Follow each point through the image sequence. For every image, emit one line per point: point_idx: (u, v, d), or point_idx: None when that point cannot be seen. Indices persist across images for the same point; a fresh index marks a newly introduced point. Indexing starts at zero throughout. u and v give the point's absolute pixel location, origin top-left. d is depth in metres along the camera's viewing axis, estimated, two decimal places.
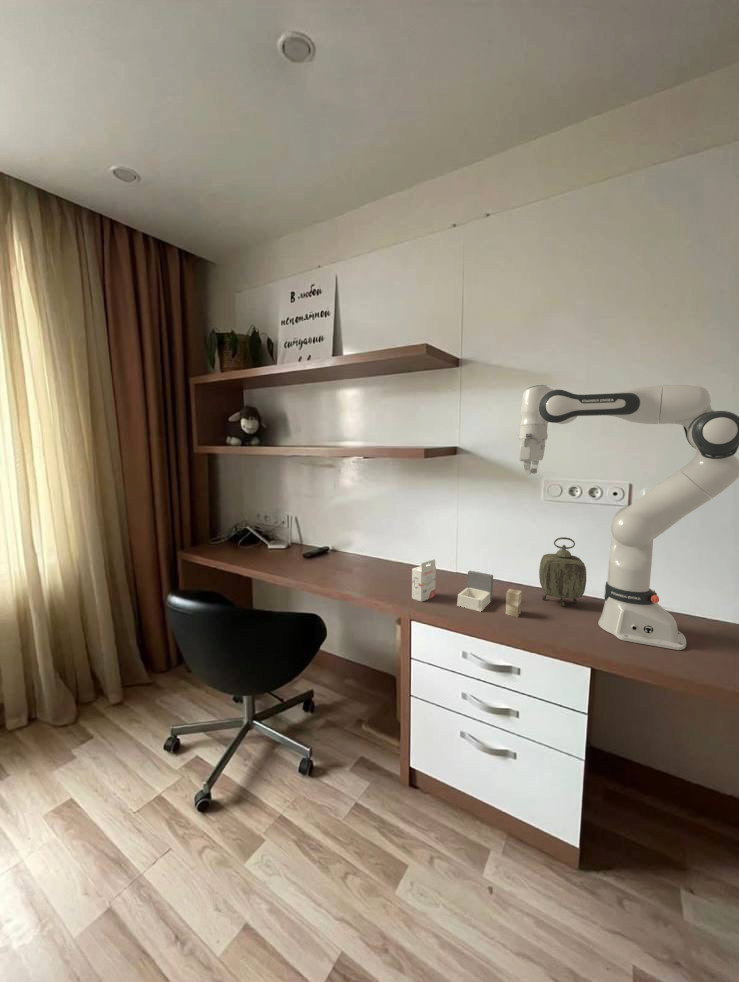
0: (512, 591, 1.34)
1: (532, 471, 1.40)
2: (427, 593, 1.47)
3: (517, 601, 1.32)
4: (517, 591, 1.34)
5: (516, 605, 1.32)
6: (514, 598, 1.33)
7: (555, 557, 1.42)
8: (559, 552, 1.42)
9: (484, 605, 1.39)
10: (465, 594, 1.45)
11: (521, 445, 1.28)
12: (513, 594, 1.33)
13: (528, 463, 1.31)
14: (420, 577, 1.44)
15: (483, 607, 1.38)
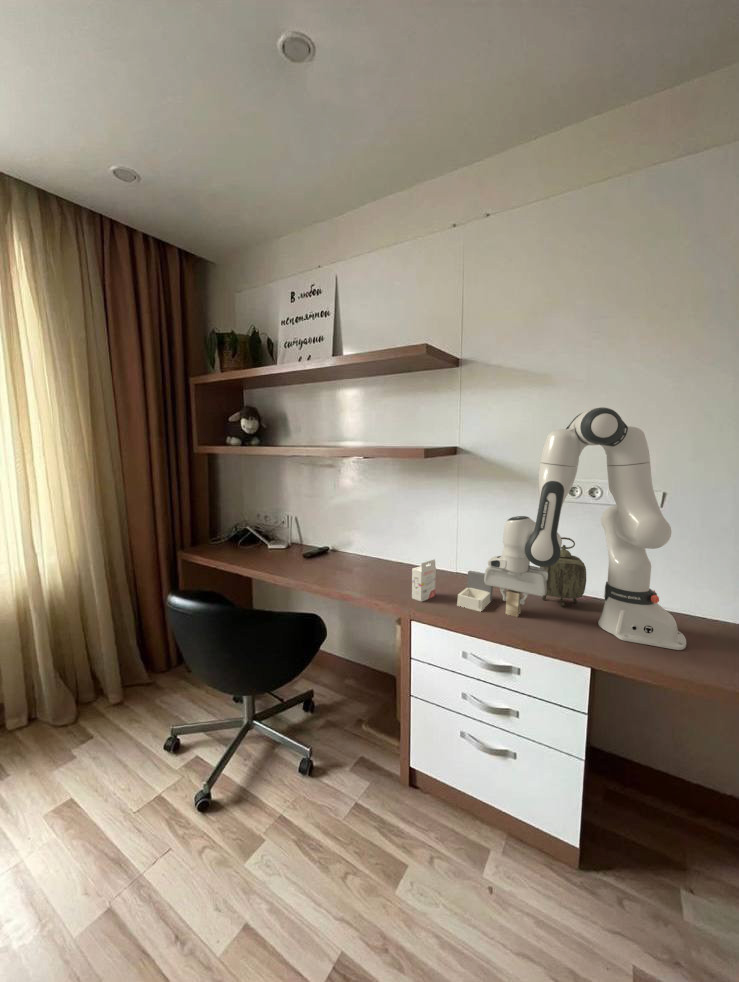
0: (512, 591, 1.34)
1: None
2: (428, 593, 1.47)
3: (517, 601, 1.32)
4: (517, 591, 1.34)
5: (516, 605, 1.32)
6: (514, 598, 1.33)
7: None
8: None
9: (484, 605, 1.39)
10: (465, 594, 1.45)
11: (544, 581, 1.27)
12: (513, 594, 1.33)
13: (528, 593, 1.32)
14: (420, 577, 1.44)
15: (483, 607, 1.38)
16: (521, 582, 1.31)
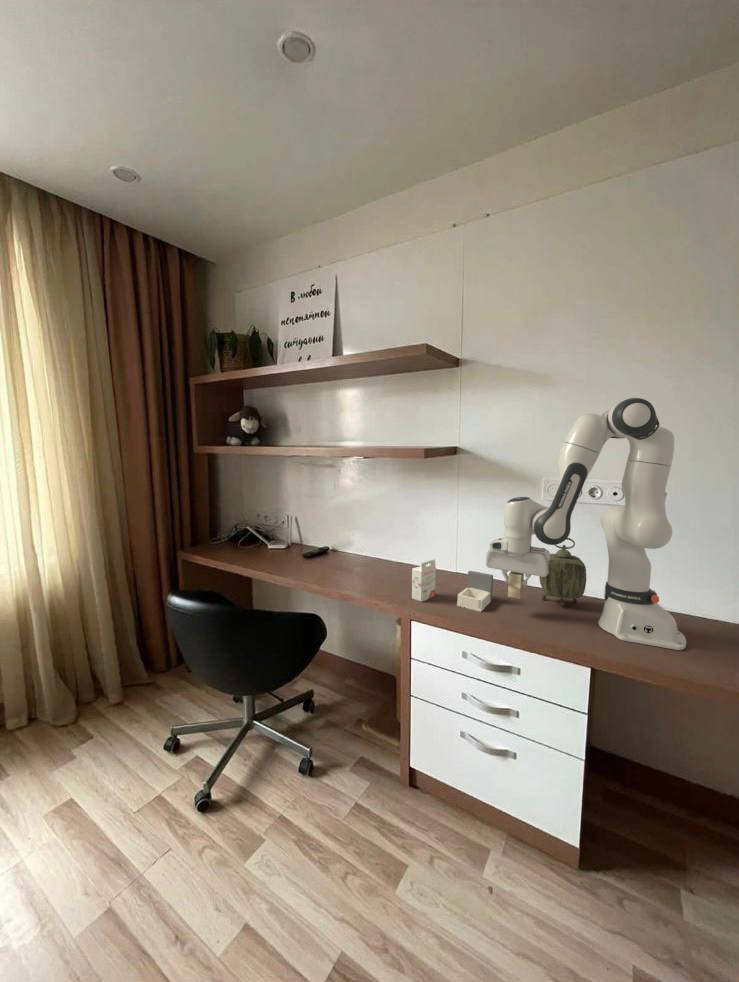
0: (514, 573, 1.34)
1: None
2: (428, 593, 1.47)
3: (519, 583, 1.31)
4: (519, 573, 1.34)
5: (518, 587, 1.31)
6: (516, 580, 1.32)
7: (555, 557, 1.42)
8: (559, 552, 1.42)
9: (484, 605, 1.39)
10: (465, 594, 1.45)
11: (546, 561, 1.26)
12: (515, 576, 1.32)
13: (530, 575, 1.31)
14: (420, 577, 1.44)
15: (483, 607, 1.38)
16: (523, 563, 1.30)
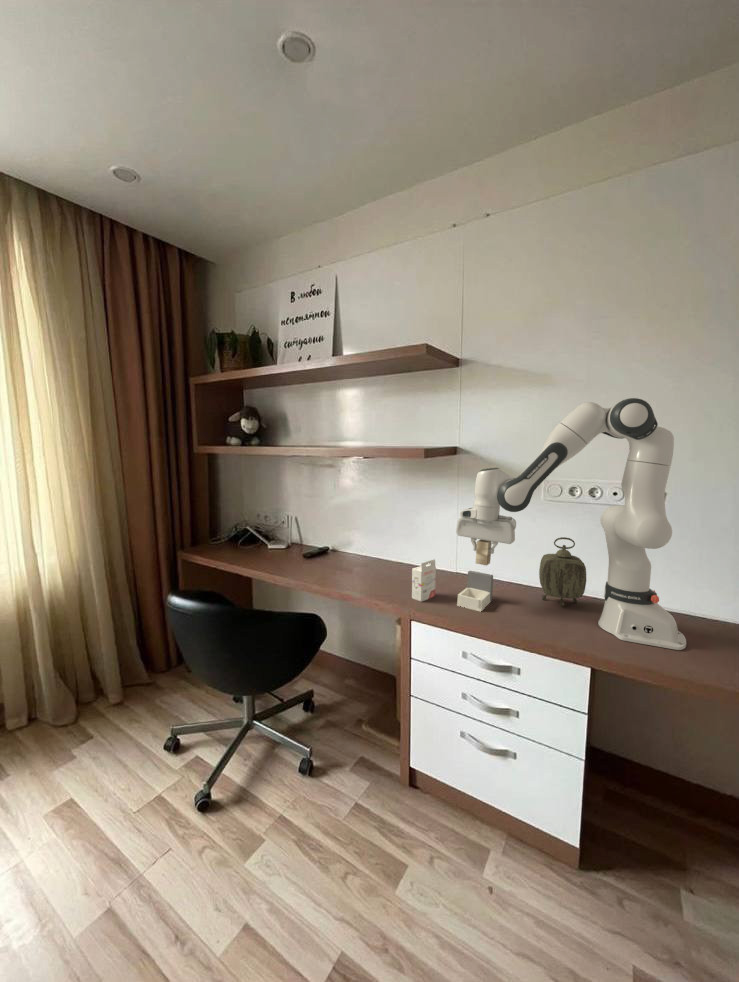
0: (482, 541, 1.39)
1: None
2: (428, 593, 1.47)
3: (486, 550, 1.37)
4: (487, 541, 1.39)
5: (485, 554, 1.37)
6: (483, 547, 1.37)
7: (555, 557, 1.42)
8: (559, 552, 1.42)
9: (484, 605, 1.39)
10: (465, 594, 1.45)
11: (512, 529, 1.32)
12: (483, 543, 1.37)
13: (497, 543, 1.37)
14: (420, 577, 1.44)
15: (483, 607, 1.38)
16: (491, 531, 1.35)
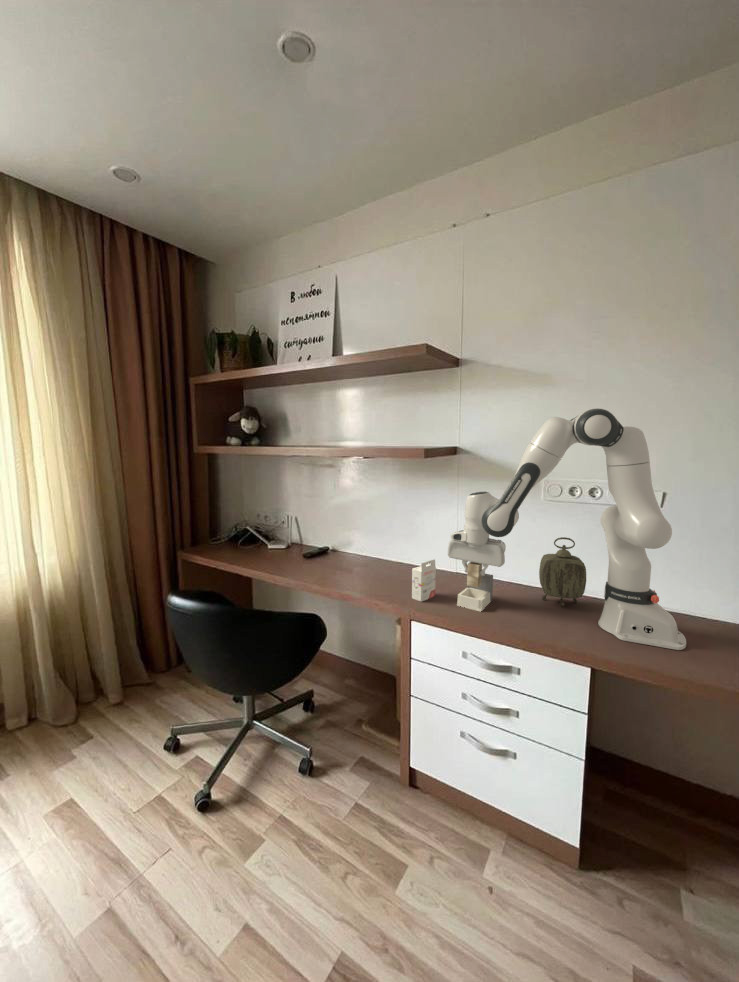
0: (473, 563, 1.41)
1: None
2: (428, 593, 1.47)
3: (477, 572, 1.39)
4: (478, 563, 1.42)
5: (476, 576, 1.39)
6: (474, 570, 1.40)
7: (555, 557, 1.42)
8: (559, 552, 1.42)
9: (484, 605, 1.39)
10: (465, 594, 1.45)
11: (501, 552, 1.34)
12: (474, 565, 1.40)
13: None
14: (420, 577, 1.44)
15: (483, 607, 1.38)
16: (481, 554, 1.38)
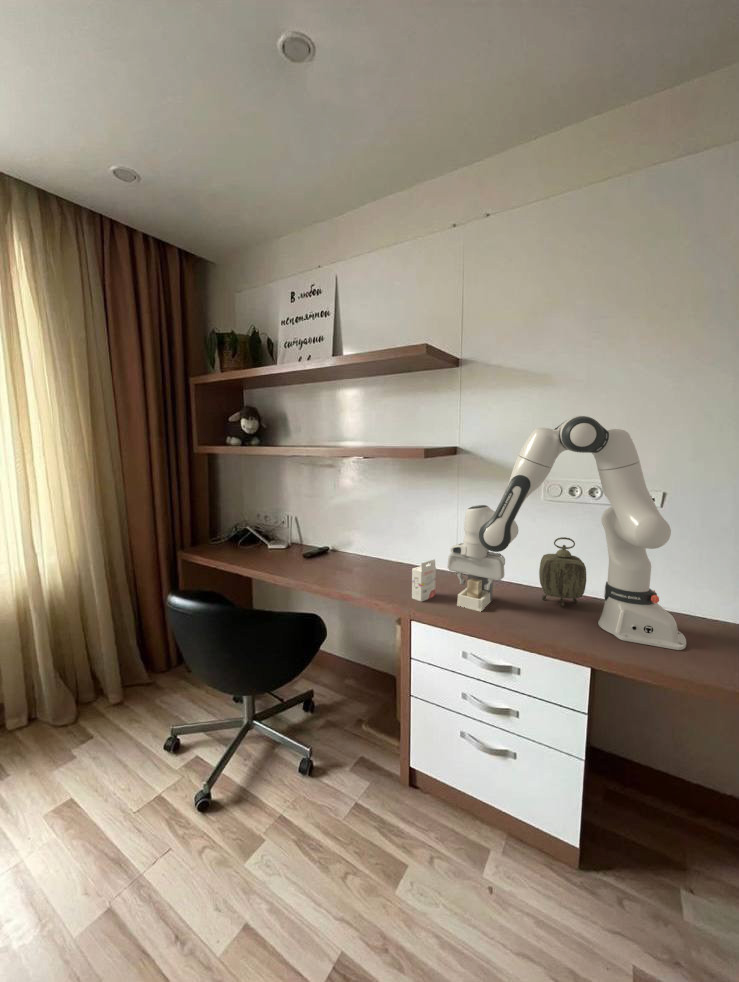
0: (473, 580, 1.42)
1: (463, 582, 1.44)
2: (427, 593, 1.47)
3: (477, 589, 1.40)
4: (478, 580, 1.42)
5: (476, 593, 1.40)
6: (474, 587, 1.40)
7: (555, 557, 1.42)
8: (559, 552, 1.42)
9: (484, 605, 1.39)
10: (465, 594, 1.45)
11: (501, 566, 1.35)
12: (473, 583, 1.40)
13: None
14: (420, 577, 1.44)
15: (483, 607, 1.38)
16: (481, 567, 1.39)
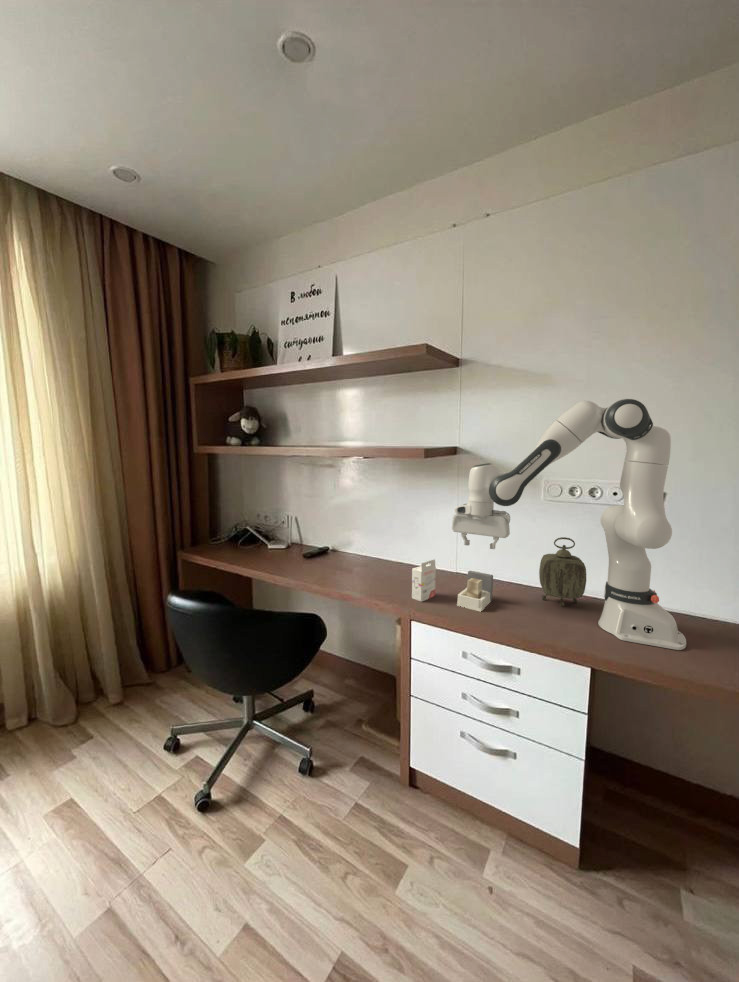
0: (473, 580, 1.42)
1: (468, 543, 1.43)
2: (428, 593, 1.47)
3: (477, 589, 1.40)
4: (478, 580, 1.42)
5: (476, 593, 1.40)
6: (474, 587, 1.40)
7: (555, 557, 1.42)
8: (559, 552, 1.42)
9: (484, 605, 1.39)
10: (465, 594, 1.45)
11: (506, 523, 1.33)
12: (473, 583, 1.40)
13: (498, 538, 1.37)
14: (420, 577, 1.44)
15: (483, 607, 1.38)
16: (485, 526, 1.37)
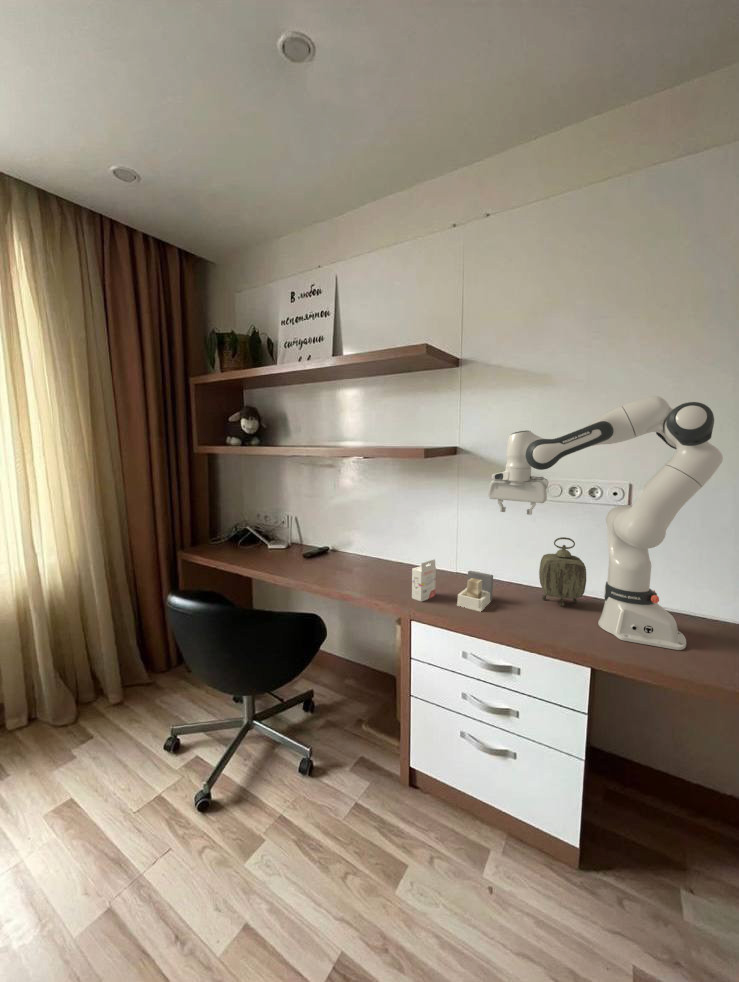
0: (473, 580, 1.42)
1: (504, 510, 1.46)
2: (428, 593, 1.47)
3: (477, 589, 1.40)
4: (478, 580, 1.42)
5: (476, 593, 1.40)
6: (474, 587, 1.40)
7: (555, 557, 1.42)
8: (559, 552, 1.42)
9: (484, 605, 1.39)
10: (465, 594, 1.45)
11: (544, 488, 1.37)
12: (473, 583, 1.40)
13: (535, 504, 1.41)
14: (420, 577, 1.44)
15: (483, 607, 1.38)
16: (523, 491, 1.41)
